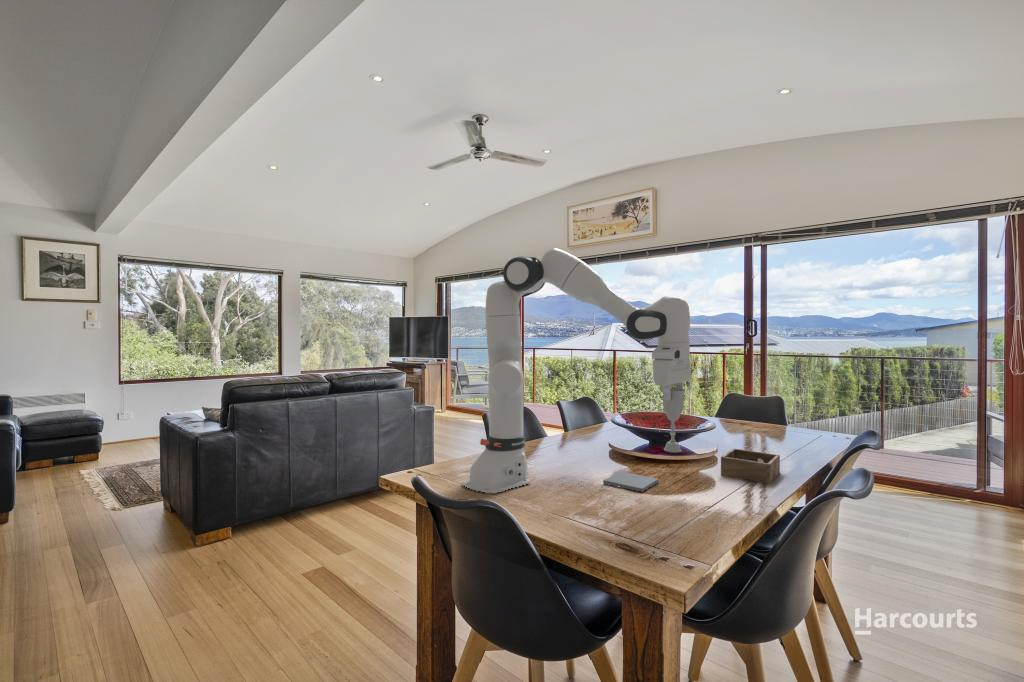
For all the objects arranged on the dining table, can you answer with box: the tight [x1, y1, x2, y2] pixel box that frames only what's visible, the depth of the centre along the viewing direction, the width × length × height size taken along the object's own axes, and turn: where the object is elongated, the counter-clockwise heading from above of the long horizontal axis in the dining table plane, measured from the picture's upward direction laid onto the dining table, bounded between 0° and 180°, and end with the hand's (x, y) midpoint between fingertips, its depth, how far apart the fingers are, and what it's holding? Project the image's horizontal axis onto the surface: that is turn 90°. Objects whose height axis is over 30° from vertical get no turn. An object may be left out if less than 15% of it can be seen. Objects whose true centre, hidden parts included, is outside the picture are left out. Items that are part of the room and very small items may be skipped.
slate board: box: [602, 470, 660, 493], centre depth 152 cm, size 12×13×1 cm
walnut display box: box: [720, 448, 781, 484], centre depth 162 cm, size 15×15×6 cm
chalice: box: [661, 387, 686, 453], centre depth 143 cm, size 7×7×18 cm
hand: (673, 398), depth 143 cm, fingers closed on chalice, 6 cm apart
